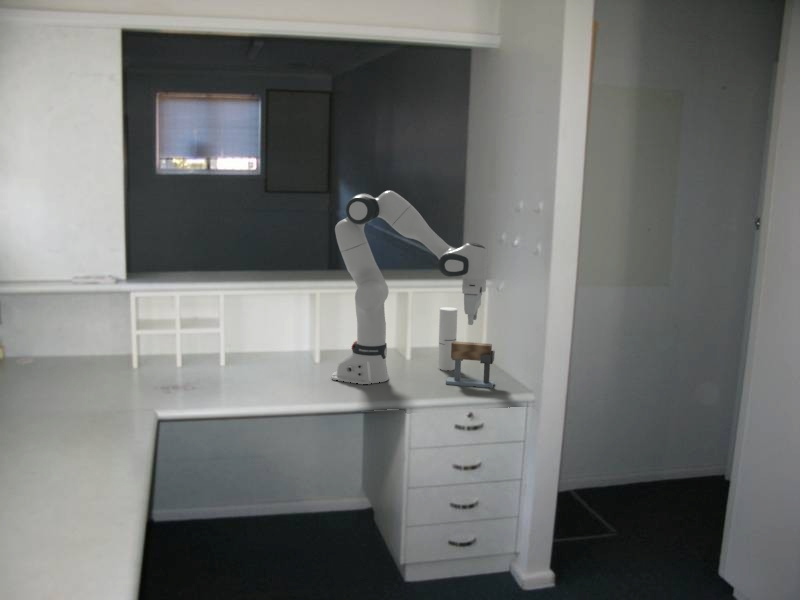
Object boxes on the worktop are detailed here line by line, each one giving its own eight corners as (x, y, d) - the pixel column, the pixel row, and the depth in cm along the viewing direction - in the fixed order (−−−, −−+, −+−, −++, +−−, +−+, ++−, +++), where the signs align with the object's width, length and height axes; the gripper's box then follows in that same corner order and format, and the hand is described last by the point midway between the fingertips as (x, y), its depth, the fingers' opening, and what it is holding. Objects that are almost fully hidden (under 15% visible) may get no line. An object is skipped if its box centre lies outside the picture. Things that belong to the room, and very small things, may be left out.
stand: (445, 384, 307) (446, 351, 304) (448, 379, 313) (449, 347, 311) (492, 388, 303) (493, 355, 300) (494, 383, 309) (495, 350, 307)
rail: (451, 358, 306) (451, 343, 305) (452, 356, 309) (453, 341, 308) (490, 361, 303) (490, 346, 302) (491, 359, 306) (491, 343, 305)
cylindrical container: (454, 371, 326) (456, 310, 321) (436, 369, 327) (438, 309, 322) (456, 366, 333) (458, 307, 328) (439, 365, 334) (441, 306, 329)
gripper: (469, 281, 312) (467, 316, 314) (461, 289, 292) (460, 326, 294) (485, 282, 310) (483, 317, 313) (479, 290, 291) (477, 328, 293)
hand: (472, 322), depth 303 cm, fingers open, 8 cm apart
